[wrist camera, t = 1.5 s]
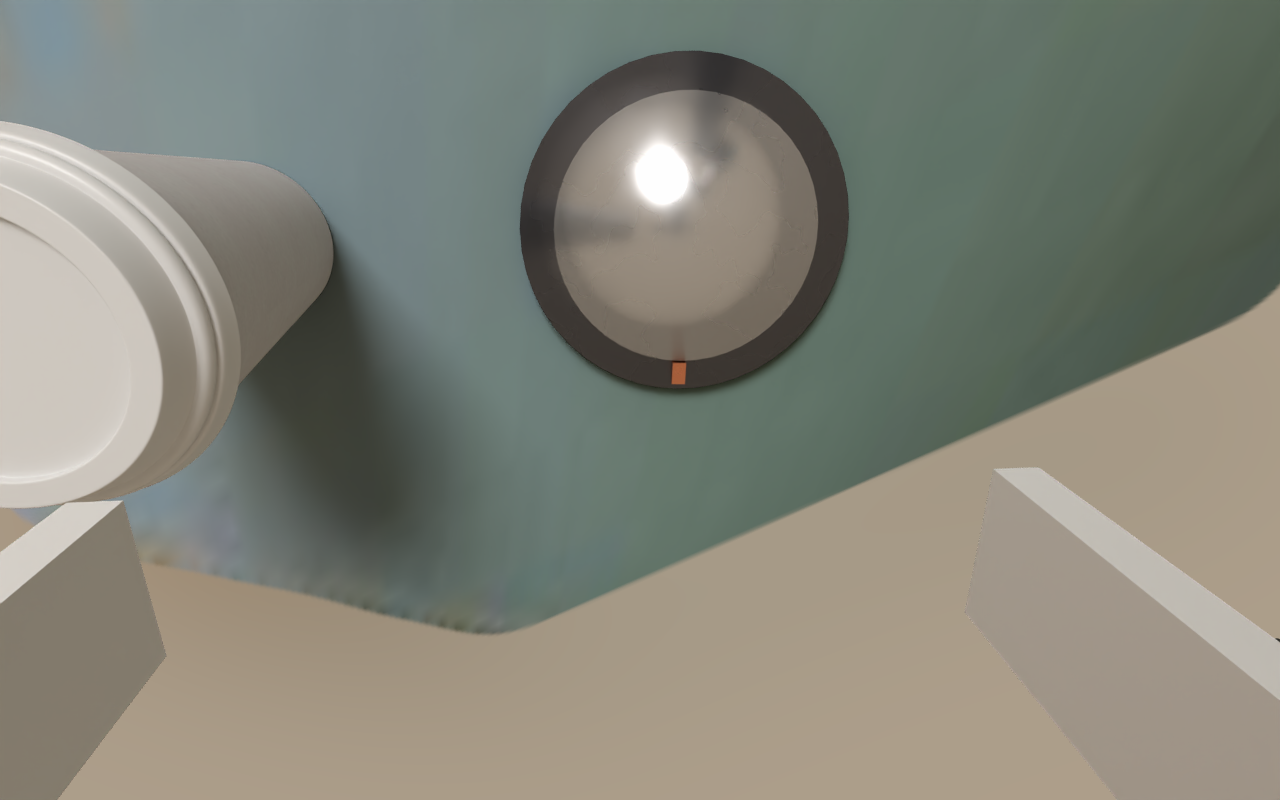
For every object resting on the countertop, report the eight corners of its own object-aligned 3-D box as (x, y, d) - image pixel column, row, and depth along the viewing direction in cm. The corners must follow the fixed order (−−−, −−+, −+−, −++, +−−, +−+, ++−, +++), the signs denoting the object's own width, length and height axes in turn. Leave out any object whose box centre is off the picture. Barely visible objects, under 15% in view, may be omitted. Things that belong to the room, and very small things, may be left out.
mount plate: (517, 42, 28) (516, 40, 27) (866, 61, 29) (874, 59, 29) (523, 382, 33) (522, 389, 32) (821, 385, 34) (827, 391, 34)
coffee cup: (282, 75, 28) (-12, 31, 14) (415, 295, 31) (287, 438, 17) (73, 186, 28) (-405, 250, 15) (225, 388, 32) (-44, 597, 18)
